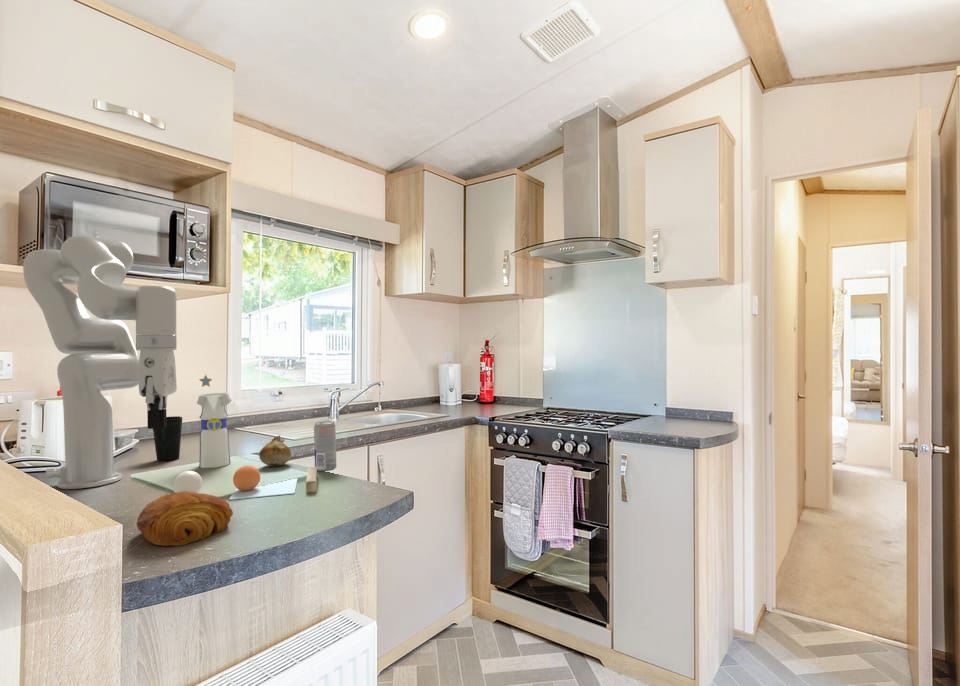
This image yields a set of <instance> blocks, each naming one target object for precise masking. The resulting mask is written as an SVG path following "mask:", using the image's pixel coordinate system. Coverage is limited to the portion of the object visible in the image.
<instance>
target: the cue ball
mask: <svg viewBox="0 0 960 686" xmlns="http://www.w3.org/2000/svg"><path fill="white" fill-rule="evenodd" d="M202 478H203V477H202V476H201V475H200V474H199V473H198V472H196V471H193V470H186V471H183V472H181V473H179V474H178V475H177V476H175V478H174V480H173V482H172V483H173V484H172V489H173V491H174V492H173V493H178V492H183V491H187V492H194V493H199V492H200V490H202V488H203V479H202Z"/></svg>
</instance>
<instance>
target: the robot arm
mask: <svg viewBox="0 0 960 686" xmlns="http://www.w3.org/2000/svg"><path fill="white" fill-rule="evenodd" d="M22 264H23V265H22V269H23V270H22V271H23V272H22V273H23V279H24V282H25V285H26V287H27V290H28V291H29V293H30V295H31V296H32V297H33V299H34V301H35V302H36V303H37V304H38V306H39V307H40V309H41V311H42V313H43V316H44V319H45V322H46V325H47V327H48V330H49V333H50V335H51V339H52V340H53V344H54V345H55V347H56V349H57V350H58V351H59V352H60V353H62V354H65V355H67V356H64V357H63V358H62V359H61V360H60V361H59V363H58V365H57V368H56V373H57V378H58V383H59V387H60V392H61V397H62V407H63V410H62V411H63V434H64V435H63V436H64V438H63V439H64V440H63V441H64V466H62V467H59V468H58V467H57V468H47V469H46V470H45V477H46V478H47V479H51V478H52V479H54V478H55V479H56V478H59V479H60V480H59V481H57V482H56V484H57V485H56V487H57V488H58V489H63V490H77V489H87V488H88V489H89V488H94V487H100V486H105V485H108V484H112V483H116V482H118V481H119V480H121V479H122V472H119V471H115V466H114V465H115V463H114V433H113V430H114V429H113V426H114V425H113V408H112V406H111V405H112V404H111V403H110V402H109V401H108V399H107V398H106V397H105V396H104V395H103V394H102V392H105V391H114V390H115V391H116V390H125V389H131V388H135V387H136V386H138V393H139V395H140V396H141V397H142V398H145V403H146V408H147V429H150V430H151V429H152V430H153V429H159V428H164V427H166V417H167V403H168V402H167V400H168V399H167V398H168V396H170V395H173V394H174V393H176V392H177V389H178V388H177V369H176V357H175V350H176V351H177V349H178V348H177V342H178V341H177V292H176V290H175V289H174V288H173V287H170V286H163V285H141V286H136V285H135V286H133V285H122V284H123V283H124V281H125V279H126V278H127V277H126V276H127V274H128V273H129V271H130V270H132V268H133V265H134V254H133V252H132V249H131V248H130V247H129V246H128V244H126V243H125V242H123V241H120V240H115V239H109V238H103V237H102V238H101V237H95V236H87V235H75V236H71V237H69V238H67V239H65V241H64V242H63V243H62V245H61V246H60V249H54V248H53V249H51V248H50V249H49V248H48V249H47V248H42V249H35V250H33V251H30V252H29V253H28V254H26V256H25V257H24V260H23V263H22ZM65 285H74V286H75V285H76V286H77V293H78V295H77V294H75V293H74V292H73V291H72V290H70V289H69V288H68V287H66V286H65ZM87 310H88V311H89V312H90V313H91V314H92V315H93V316H92V315H90V314H89V313H88V311H87ZM123 321H135V341H134V339H133V337H132V335H131V332H130V330H129V328H128V326H127V325H126V323H124V322H123ZM139 351H140V353H139Z"/></svg>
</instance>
